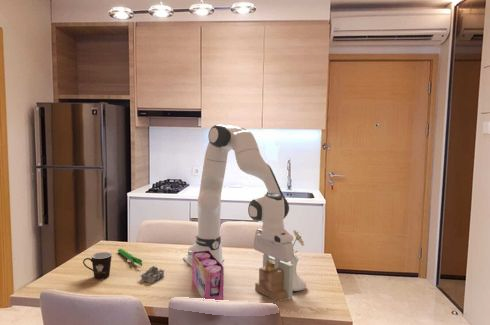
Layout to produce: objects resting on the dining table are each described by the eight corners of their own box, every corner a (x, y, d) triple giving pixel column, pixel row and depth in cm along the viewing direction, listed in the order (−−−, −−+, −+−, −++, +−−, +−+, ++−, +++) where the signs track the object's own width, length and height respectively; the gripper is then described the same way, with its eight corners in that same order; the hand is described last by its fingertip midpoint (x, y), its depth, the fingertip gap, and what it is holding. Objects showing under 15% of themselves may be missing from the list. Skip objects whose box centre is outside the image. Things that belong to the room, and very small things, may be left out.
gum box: (225, 302, 147) (225, 269, 146) (205, 305, 144) (206, 271, 143) (208, 279, 169) (209, 250, 168) (191, 281, 167) (191, 251, 165)
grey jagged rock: (154, 273, 175) (154, 264, 175) (166, 276, 172) (167, 267, 171) (138, 281, 166) (138, 272, 165) (151, 284, 162) (151, 275, 162)
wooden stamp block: (258, 286, 155) (258, 261, 154) (269, 282, 159) (269, 257, 158) (271, 293, 149) (272, 267, 148) (282, 289, 153) (283, 263, 152)
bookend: (253, 288, 160) (254, 257, 159) (265, 284, 164) (266, 253, 163) (280, 302, 148) (281, 268, 147) (292, 297, 152) (293, 264, 151)
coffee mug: (115, 274, 171) (115, 253, 171) (103, 281, 163) (102, 259, 162) (95, 270, 175) (95, 250, 174) (81, 277, 167) (81, 256, 166)
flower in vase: (305, 295, 155) (308, 236, 153) (278, 292, 157) (280, 234, 155) (306, 282, 168) (308, 228, 166) (281, 280, 170) (283, 226, 168)
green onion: (116, 254, 201) (137, 269, 177) (116, 248, 201) (137, 262, 176) (125, 253, 204) (146, 267, 179) (125, 247, 203) (146, 260, 179)
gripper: (250, 228, 158) (249, 260, 159) (285, 240, 142) (283, 275, 143) (261, 226, 162) (260, 257, 163) (296, 238, 146) (295, 272, 147)
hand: (271, 266), depth 153 cm, fingers open, 3 cm apart
